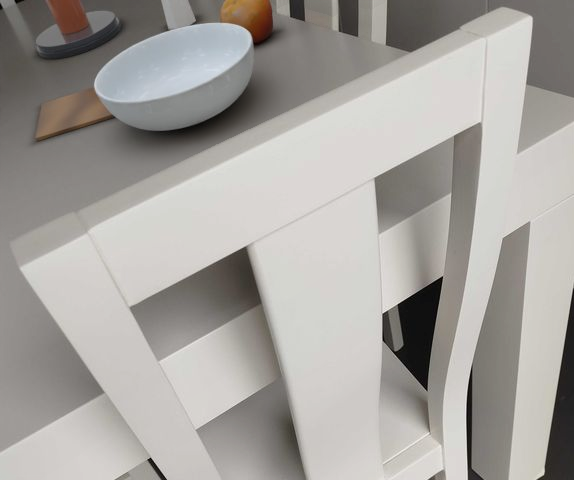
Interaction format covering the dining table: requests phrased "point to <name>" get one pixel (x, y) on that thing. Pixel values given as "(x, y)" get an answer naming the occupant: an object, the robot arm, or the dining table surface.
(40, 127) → the square wooden coaster
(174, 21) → the salt shaker
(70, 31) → the tumbler
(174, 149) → the dining table surface
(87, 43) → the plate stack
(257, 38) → the fruit
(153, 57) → the serving bowl
